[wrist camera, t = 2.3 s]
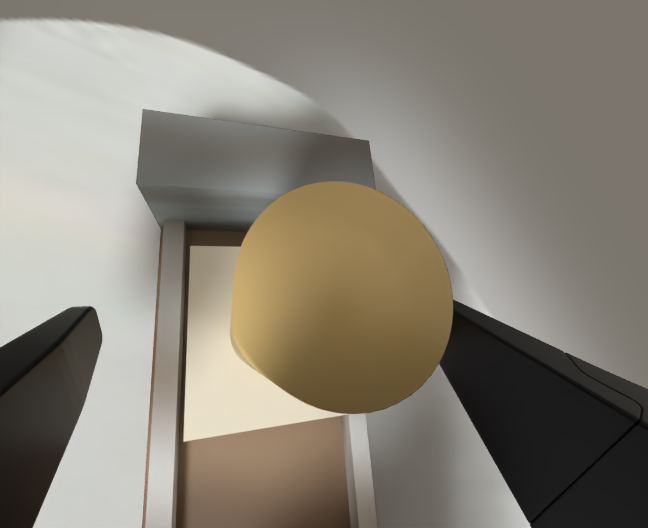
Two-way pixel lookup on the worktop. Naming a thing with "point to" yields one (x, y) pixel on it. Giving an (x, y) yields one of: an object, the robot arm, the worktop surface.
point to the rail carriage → (314, 313)
